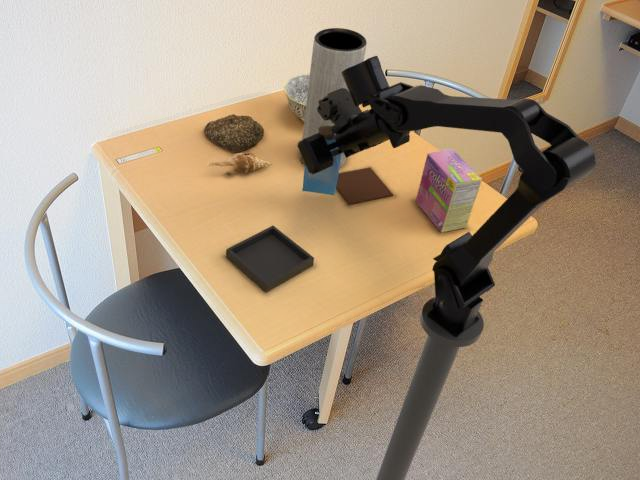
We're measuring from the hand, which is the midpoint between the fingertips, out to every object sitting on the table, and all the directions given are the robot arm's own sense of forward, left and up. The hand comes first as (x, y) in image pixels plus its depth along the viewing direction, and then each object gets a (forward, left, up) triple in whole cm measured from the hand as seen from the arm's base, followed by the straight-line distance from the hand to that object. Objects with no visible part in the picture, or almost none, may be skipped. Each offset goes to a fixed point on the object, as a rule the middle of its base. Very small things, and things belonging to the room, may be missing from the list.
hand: (319, 153), depth 124 cm
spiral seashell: (+17, +6, -11) cm, 21 cm away
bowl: (+23, -22, -11) cm, 34 cm away
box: (-18, -17, -11) cm, 28 cm away
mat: (-2, -11, -11) cm, 16 cm away
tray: (-8, +19, -11) cm, 23 cm away
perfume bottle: (-1, 0, -6) cm, 7 cm away
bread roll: (+28, -2, -11) cm, 30 cm away
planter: (+10, -12, -11) cm, 19 cm away
